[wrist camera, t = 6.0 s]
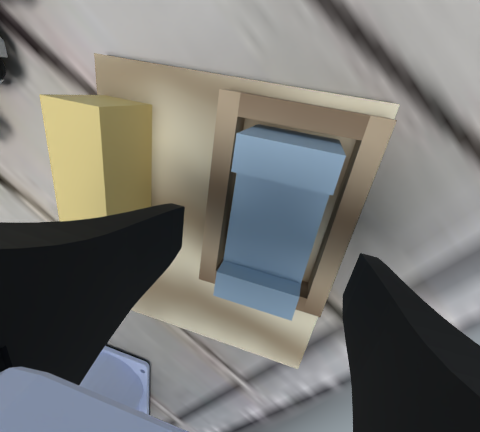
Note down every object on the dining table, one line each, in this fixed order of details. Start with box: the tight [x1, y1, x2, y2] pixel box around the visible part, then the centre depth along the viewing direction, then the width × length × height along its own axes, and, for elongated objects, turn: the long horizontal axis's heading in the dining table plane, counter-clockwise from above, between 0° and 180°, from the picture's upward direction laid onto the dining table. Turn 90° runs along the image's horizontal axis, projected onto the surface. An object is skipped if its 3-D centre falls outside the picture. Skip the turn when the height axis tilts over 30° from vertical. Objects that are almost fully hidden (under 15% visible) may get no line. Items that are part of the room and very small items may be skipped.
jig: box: [94, 53, 400, 369], centre depth 17 cm, size 18×16×2 cm
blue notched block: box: [213, 124, 346, 321], centre depth 13 cm, size 8×4×4 cm, turn 171°
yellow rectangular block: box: [40, 95, 152, 221], centre depth 15 cm, size 10×3×4 cm, turn 171°
